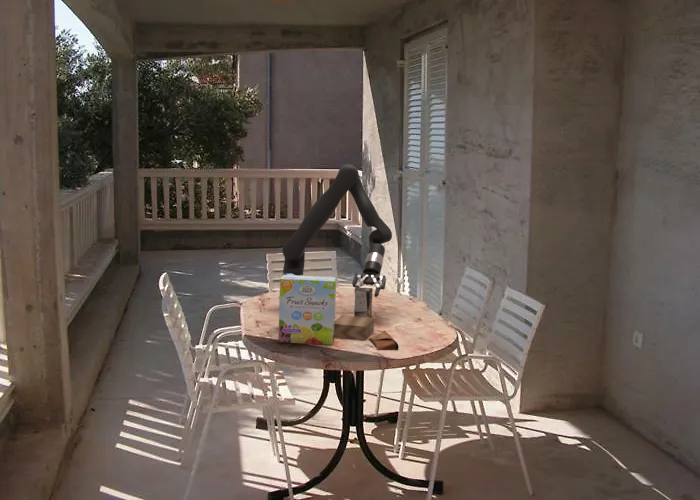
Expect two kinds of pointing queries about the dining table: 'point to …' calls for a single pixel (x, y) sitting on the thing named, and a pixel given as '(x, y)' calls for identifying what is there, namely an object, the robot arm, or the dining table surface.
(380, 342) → the sunglasses case
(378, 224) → the robot arm
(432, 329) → the dining table surface
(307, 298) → the snack box
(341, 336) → the walnut block
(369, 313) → the coffee box
